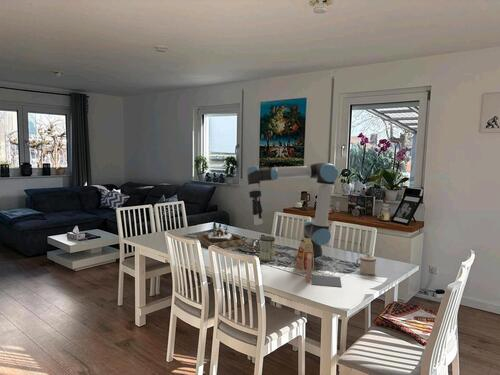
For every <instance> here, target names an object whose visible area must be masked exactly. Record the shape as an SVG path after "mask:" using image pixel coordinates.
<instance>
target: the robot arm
mask: <svg viewBox="0 0 500 375" xmlns="http://www.w3.org/2000/svg"><path fill="white" fill-rule="evenodd" d="M246 175H247V184H248V185H247V188H248V191H249V192H248V196H249V198H250V199H252V200H251V201H252V203H251V205H252V215H253V223H254V226H259V225H262V224H264V222H263V208H262V204H261V197H262V191H261V190H262V188H261V182H266V181H267V182H269V181H277V180H278V179H286V178H287V179H288V178H290V179H291V178H308V179H316V184H317V186H318V188H317V197H316V205H315V215H314V220H313V221H312V220H311V221H310V220H309V221H308V220H307V221H305V222H304V226H303V237H304V238H311V242H312V245H313V254H314V257H320V256H322V255H323V249H322V246H324V245H327V244H328V243H329V242H330V241H331V239H332V235H331V232H330V224H329V222H328V220H329V213H330V205H331V203H330V202H331V197H332V196H331V195H332V187H333V186H335V181H336V180H337V179H338V177H339V170H338V168H337V167H336V165H334V164H332V163H330V162H329V163H328V162H318V163H312V164H311V163H310V164H309V163H308V164H306V165H297V166H293V165H292V166H274V167H260V168H259V167H258V166H248V167H247V168H246Z"/></svg>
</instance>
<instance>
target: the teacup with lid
mask: <svg viewBox="0 0 500 375" xmlns="http://www.w3.org/2000/svg"><path fill="white" fill-rule="evenodd" d="M359 261H360V264H359ZM376 261H377V259H376V257H374V256H372V255H371V253H366V254H364V255H361V256H360V258H357V259H356V265H357V267H359V272H360V273H361V274H363V275H368V274H371V275H374V274H375V273H376Z"/></svg>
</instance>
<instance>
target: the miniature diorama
mask: <svg viewBox="0 0 500 375" xmlns="http://www.w3.org/2000/svg"><path fill="white" fill-rule="evenodd" d="M228 227H229V225H228V224H223V226H222V223H221V222H219V224H218V226H217V222H216V221H215V220H214V221H213V224H212V228H211V233H208V234H209V235H208V237H207V241H209V242H211V243H219V242H227V241H234V240H233V236H232V235H231V234H230V233H231V232H230V233H228V232H229V230H228Z"/></svg>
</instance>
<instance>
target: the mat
mask: <svg viewBox="0 0 500 375" xmlns="http://www.w3.org/2000/svg"><path fill="white" fill-rule="evenodd" d="M311 286H319V287H320V286H323V287H332V288H334V287H336V288H342V280H341V276H329V275H320V274H319V275H316V274H311Z"/></svg>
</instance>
